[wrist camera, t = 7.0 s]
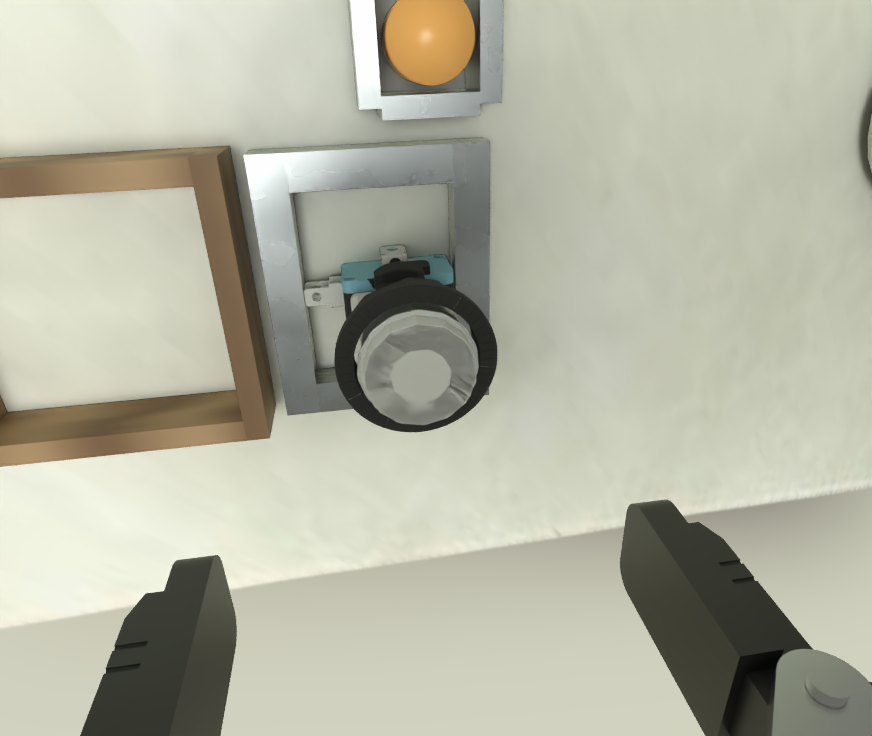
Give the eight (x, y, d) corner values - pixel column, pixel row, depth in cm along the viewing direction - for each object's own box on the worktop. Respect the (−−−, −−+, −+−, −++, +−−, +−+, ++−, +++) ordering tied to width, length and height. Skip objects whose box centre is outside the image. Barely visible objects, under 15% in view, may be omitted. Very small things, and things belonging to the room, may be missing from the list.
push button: (314, 338, 29) (304, 462, 20) (297, 225, 26) (276, 309, 17) (454, 324, 29) (504, 438, 20) (450, 213, 27) (504, 287, 18)
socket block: (481, 137, 26) (489, 141, 24) (482, 380, 31) (488, 394, 30) (248, 150, 25) (243, 155, 23) (289, 399, 30) (287, 415, 28)
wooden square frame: (229, 145, 24) (216, 156, 22) (275, 404, 30) (269, 438, 27) (-125, 164, 23) (-185, 178, 20) (-9, 433, 28) (-44, 471, 26)
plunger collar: (484, -42, 23) (503, -56, 20) (484, 109, 25) (501, 114, 22) (344, -39, 22) (345, -53, 20) (357, 115, 25) (360, 121, 22)
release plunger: (458, -8, 23) (474, -18, 20) (460, 81, 24) (475, 83, 21) (378, -6, 22) (383, -15, 20) (384, 84, 24) (389, 87, 21)
